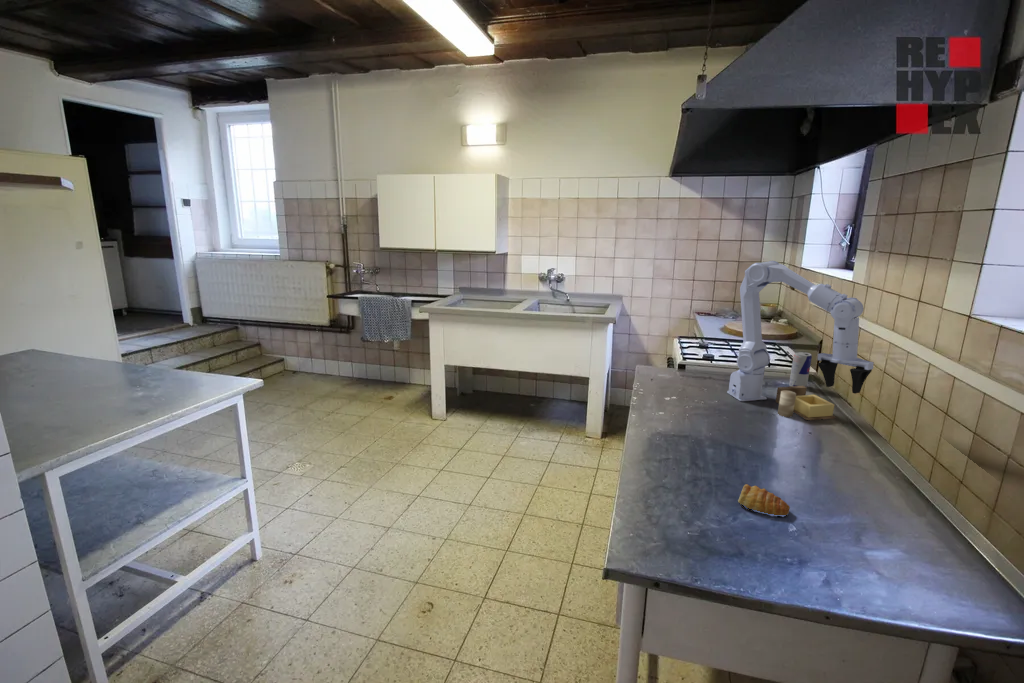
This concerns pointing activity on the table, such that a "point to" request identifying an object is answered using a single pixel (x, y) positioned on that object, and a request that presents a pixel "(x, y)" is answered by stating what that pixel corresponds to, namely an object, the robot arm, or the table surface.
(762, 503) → the pastry
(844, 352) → the robot arm
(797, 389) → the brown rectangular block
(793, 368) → the energy drink
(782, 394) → the birch dowel
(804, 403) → the socket block
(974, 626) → the table surface
